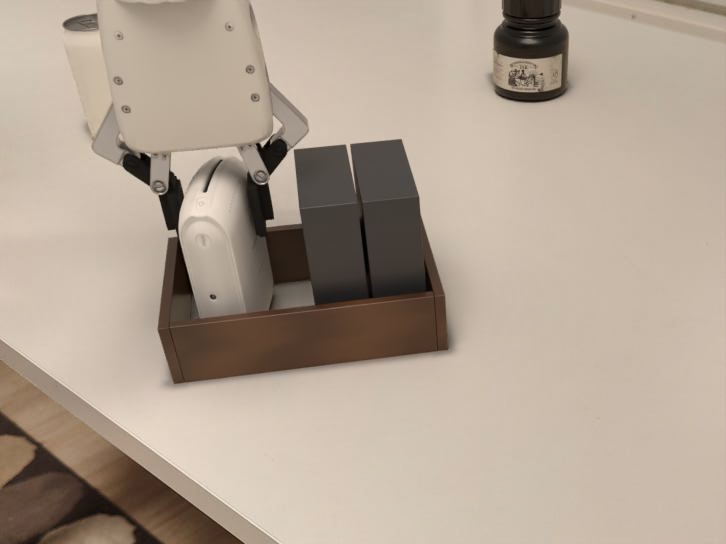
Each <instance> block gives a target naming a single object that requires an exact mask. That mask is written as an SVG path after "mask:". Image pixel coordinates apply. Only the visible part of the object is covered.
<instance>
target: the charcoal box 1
mask: <svg viewBox="0 0 726 544" xmlns="http://www.w3.org/2000/svg"><path fill="white" fill-rule="evenodd" d="M293 158H294V169H295V170H294V171H295V179H296V189H297V199H298V200H297V201H298V210H299V214H300V215H299V216H300V222H301V223H302V229H303V235H304V241H305V247H306V253H307V259H308V266H309V272H310V278H311V280H310V282H311V289H312V295H313V301H314V302H313V303H314V305H320V304H329V303H337V302H346V301H354V300H363V299H370V298H369V293H368V287H367V279H366V270H365V262H364V253H363V245H362V236H361V227H360V219H359V210H358V202H357V197H356V191H355V182H354V176H353V173H352V172H353V171H352V168H351V162H350V158H349V153H348V147H347V144H334V145H324V146H314V147H305V148H304V147H303V148H293ZM301 223H300V224H301Z"/></svg>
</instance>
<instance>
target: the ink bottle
mask: <svg viewBox="0 0 726 544" xmlns="http://www.w3.org/2000/svg"><path fill="white" fill-rule="evenodd" d="M561 9H562V0H501V10H502V11H501V14H502V17H503V18H504V19H503V20H502V22H501V23H500V24H499V25H498V26H497V27H496V28H495V30H494V32H493V38H492V39H493V40H492V42H493V44H492V45H493V48H492V80H493V88H494V90H495V92H496V93H497V94H499V95H500V96H502V97H505V98H508V99H513V100H518V101H519V100H520V101H545V100H549V99H552V98H555V97H558V96H560V95H561V94H563V92H565V90H566V88H567V87H568V73H569V50H570V49H569V48H570V32H569V30H568V28H567V26H566V25H565V24H564V23H562V21H561V19H560V16H561V13H562V11H561Z"/></svg>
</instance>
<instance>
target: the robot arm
mask: <svg viewBox="0 0 726 544" xmlns="http://www.w3.org/2000/svg"><path fill="white" fill-rule="evenodd" d="M95 2H96V3H95V4H96V13H97V16H98V25H99V33H100V39H101V46H102V51H103V57H104V62H105V67H106V73H107V78H108V82H109V87H110V92H111V97H112V101H111V103H110V106H109V108H108V110H107V112H106V114H105V116H104V118H103V120H102V122H101V124H100V126H99V128H98V130H97V132H96V134H95V136H94V138H93V139H92V143H91V150H92V152H93V153H95V155H98V156H99V157H101V158H103V159H105V160H107V161H108V162H111V163H113V164H114V165H116V166H118V165H119V166H120V167H122V168H123V169H124V170H125V171H126V172H127V173H128V174H130V175H132V176H133V177H135V178H136V179H137V180H139V181H140V182H142V183H144V184H145V185H147V186H148V187H149V188H150V189H149V190H151V192H152V193H153V194H155V195H157V196H158V200H159V204H160V208H161V211H162V215H163V219H164V222H165V226H166V229H167V231H168V232H169V231H175V232H176V237H178V241H179V244H180V246H181V243H180V239H179V214H180V210H181V206H182V202H183V200H184V196H185V194H184V189H183V186H182V181H181V179H180V178H178V176H177V175H176V174H175V172H173V171H172V170H171V165H172V153H179V152H191V151H192V152H193V151H203V150H212V149H213V150H215V149H222V148H223V149H224V148H234V147H236V149H237V151H238V153H239V155H240V157H241V159H242V161H243V162H244V163H245V165H246V167H247V169H248V173H247V190H248V196H249V201H250V206H251V211H252V216H253V221H254V226H255V231H256V235H257V236H259V237H267V232H266V227H267V221H273V220H275V213H274V206H273V202H272V195H271V190H270V184H269V181H270V180H271V179H270V177H271V176H272V174H273V173H274V172H275V171H276V170H277V168H278V167H279V166H280V164H281V163H282V162H283V160H285V158H286V157H287V156H288V152H289V151H291V149H294V147H296V146H297V144H299V143H300V142H301V141H302V140H303V139H304V138H305V137H306V136H307V135H308V134H309V132H310V125H309V120H308V118H307V117H306V116H305V115H304V114H303V113H302V112H301V111H300V110H299V109H298V108H297V107H296V106H295V105H294V104H293V103H292V102H291V101H290V100H289V99H288V98H287V97H286V96H285V95H284V94H283V93H282V92H281V91H280V90H279V89H278V88H277V87H276V86H275V85H274V84H273V83H271V81H270V76H269V72H268V68H267V67H268V66H267V62H266V58H265V53H264V50H263V44H262V40H261V36H260V31H259V27H258V23H257V19H256V16H255V11H254V8H253V5H252V2H251V0H95ZM274 118H275V119H276V120H277V121H278V122H279V123H280V124H282V126H280V128H279V129H278V131H276V133H274V132H273V131H274ZM120 132H121V135H122V138H123V140H124V142H125V143H124V142H123V141H121V140H120V138H119V134H120ZM267 139H268V140H267ZM265 140H266V142H265V143H264V145H262V142H264V141H265ZM148 154H149V155H148Z"/></svg>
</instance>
